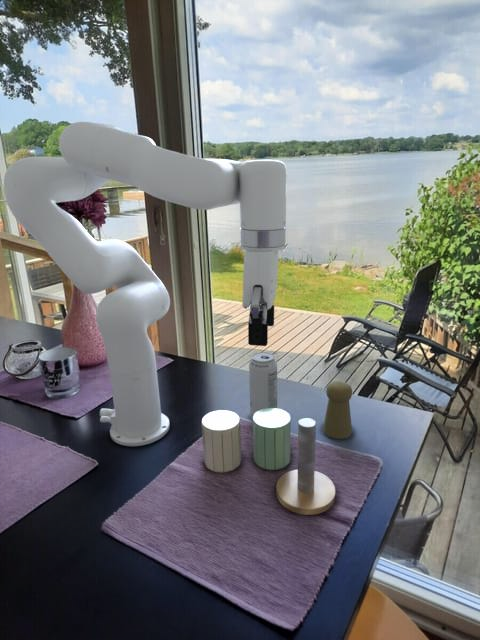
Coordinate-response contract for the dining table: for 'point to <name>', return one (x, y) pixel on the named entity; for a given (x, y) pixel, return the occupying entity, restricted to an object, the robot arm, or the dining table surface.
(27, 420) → the dining table surface
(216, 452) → the cup
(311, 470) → the disc
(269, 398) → the energy drink can
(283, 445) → the green grooved cylinder
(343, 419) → the olive pawn figure
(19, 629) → the dining table surface
